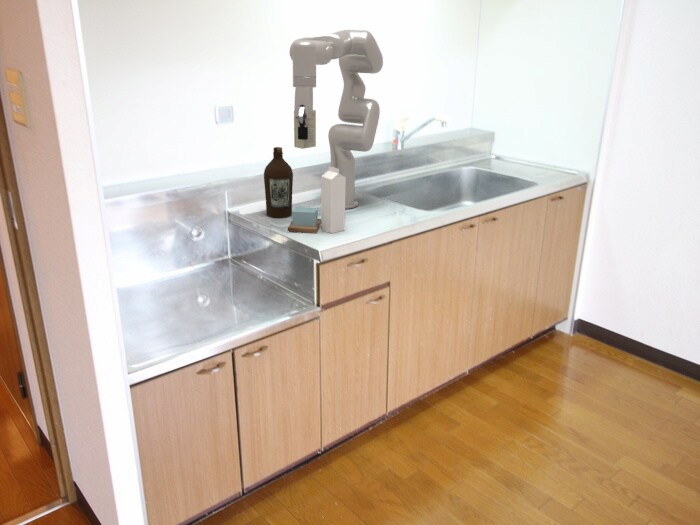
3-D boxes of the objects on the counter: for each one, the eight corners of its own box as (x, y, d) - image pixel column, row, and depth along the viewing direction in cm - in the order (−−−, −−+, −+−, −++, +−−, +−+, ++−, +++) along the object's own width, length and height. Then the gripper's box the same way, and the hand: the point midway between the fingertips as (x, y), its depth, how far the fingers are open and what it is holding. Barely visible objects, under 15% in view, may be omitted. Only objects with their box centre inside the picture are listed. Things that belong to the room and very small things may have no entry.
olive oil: (263, 211, 234) (261, 145, 226) (291, 210, 237) (290, 144, 228) (266, 219, 225) (264, 150, 216) (295, 218, 227) (294, 150, 218)
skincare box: (307, 145, 210) (307, 108, 206) (316, 147, 207) (316, 110, 203) (293, 147, 206) (293, 110, 202) (302, 149, 203) (302, 111, 199)
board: (293, 221, 223) (293, 217, 222) (321, 223, 222) (321, 219, 221) (287, 232, 211) (287, 227, 211) (316, 233, 211) (316, 229, 210)
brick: (295, 220, 219) (295, 206, 217) (317, 221, 219) (317, 207, 217) (292, 225, 214) (292, 211, 212) (315, 226, 213) (315, 212, 211)
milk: (330, 233, 211) (331, 170, 203) (320, 229, 216) (320, 166, 208) (345, 230, 215) (346, 168, 206) (334, 226, 219) (335, 164, 211)
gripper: (297, 79, 207) (298, 132, 214) (288, 84, 191) (289, 141, 198) (319, 80, 207) (319, 133, 213) (312, 84, 191) (312, 142, 197)
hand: (304, 136), depth 205 cm, fingers closed on skincare box, 7 cm apart
